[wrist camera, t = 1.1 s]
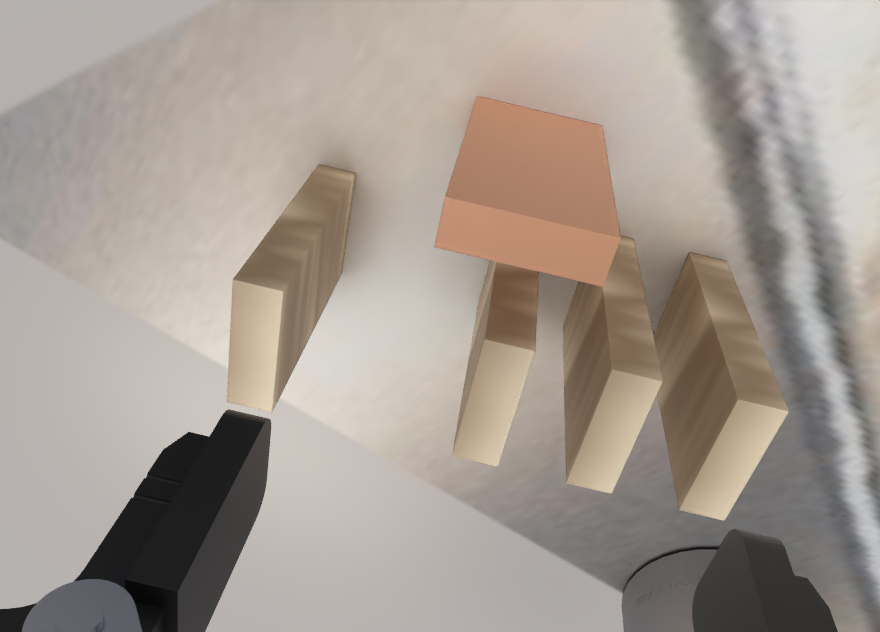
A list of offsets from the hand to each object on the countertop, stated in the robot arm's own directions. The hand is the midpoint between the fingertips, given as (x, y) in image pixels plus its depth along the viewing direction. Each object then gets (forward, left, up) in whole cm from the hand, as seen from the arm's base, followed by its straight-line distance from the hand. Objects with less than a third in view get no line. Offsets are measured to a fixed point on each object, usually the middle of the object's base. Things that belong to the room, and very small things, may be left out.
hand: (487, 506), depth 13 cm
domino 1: (+2, +9, -20) cm, 22 cm away
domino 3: (-4, +4, -20) cm, 21 cm away
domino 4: (-7, +1, -20) cm, 21 cm away
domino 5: (-10, -1, -20) cm, 23 cm away
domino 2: (0, 0, -20) cm, 20 cm away
